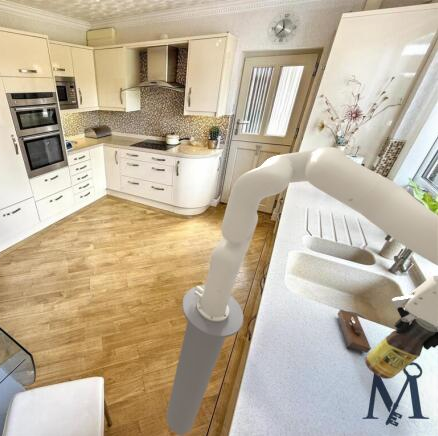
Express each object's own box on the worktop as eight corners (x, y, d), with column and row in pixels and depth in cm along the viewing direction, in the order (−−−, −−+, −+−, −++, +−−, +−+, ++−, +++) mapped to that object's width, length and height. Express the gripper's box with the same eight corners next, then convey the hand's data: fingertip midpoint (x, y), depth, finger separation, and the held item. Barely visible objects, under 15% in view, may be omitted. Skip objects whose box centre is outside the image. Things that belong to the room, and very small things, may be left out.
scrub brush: (334, 317, 88) (342, 306, 85) (350, 322, 87) (359, 311, 83) (345, 350, 77) (355, 339, 74) (363, 356, 75) (374, 345, 72)
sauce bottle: (369, 375, 64) (415, 330, 54) (359, 354, 69) (400, 309, 59) (398, 384, 62) (451, 340, 52) (385, 362, 67) (432, 317, 57)
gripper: (530, 302, 46) (460, 354, 55) (413, 257, 56) (371, 307, 66) (541, 324, 41) (462, 376, 51) (412, 271, 52) (366, 322, 61)
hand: (411, 337), depth 58 cm, fingers closed on sauce bottle, 4 cm apart
